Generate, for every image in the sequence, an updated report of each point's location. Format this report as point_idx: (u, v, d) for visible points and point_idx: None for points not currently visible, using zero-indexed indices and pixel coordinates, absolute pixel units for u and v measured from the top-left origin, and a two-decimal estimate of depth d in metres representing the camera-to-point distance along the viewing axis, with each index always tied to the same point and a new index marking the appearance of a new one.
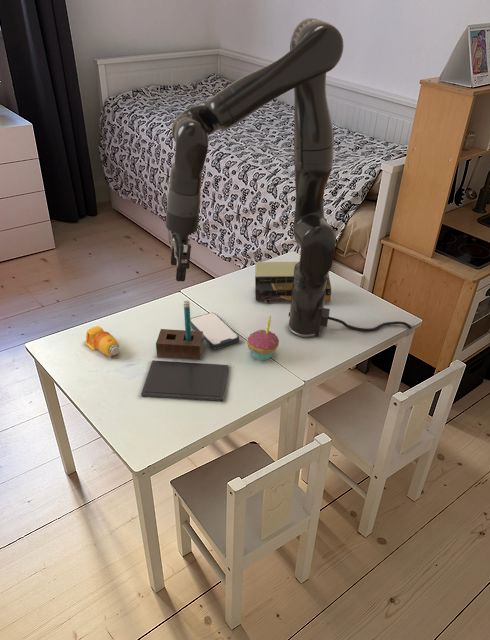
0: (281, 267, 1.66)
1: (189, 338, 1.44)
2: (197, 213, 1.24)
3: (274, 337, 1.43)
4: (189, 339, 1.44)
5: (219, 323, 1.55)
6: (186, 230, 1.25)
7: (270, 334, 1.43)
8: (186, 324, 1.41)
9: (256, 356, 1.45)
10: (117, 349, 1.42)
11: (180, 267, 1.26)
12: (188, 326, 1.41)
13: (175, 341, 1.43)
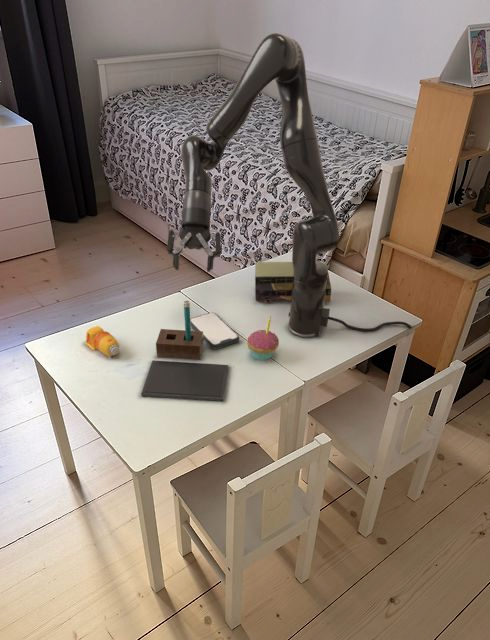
0: (281, 267, 1.66)
1: (189, 338, 1.44)
2: None
3: (274, 337, 1.43)
4: (189, 339, 1.44)
5: (219, 323, 1.55)
6: (209, 225, 1.45)
7: (270, 334, 1.43)
8: (186, 324, 1.41)
9: (256, 356, 1.45)
10: (117, 349, 1.42)
11: (219, 252, 1.43)
12: (188, 326, 1.41)
13: (175, 341, 1.43)
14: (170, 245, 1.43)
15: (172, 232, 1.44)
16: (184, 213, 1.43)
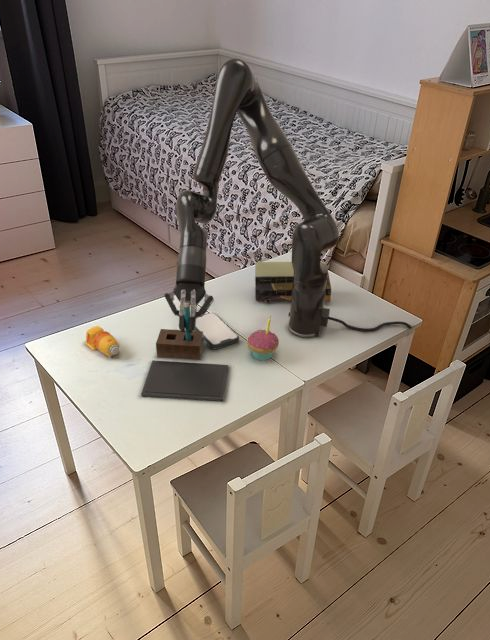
0: (281, 267, 1.66)
1: (189, 338, 1.44)
2: None
3: (274, 337, 1.43)
4: (189, 339, 1.44)
5: (219, 323, 1.55)
6: (204, 281, 1.42)
7: (270, 334, 1.43)
8: (186, 324, 1.41)
9: (256, 356, 1.45)
10: (117, 349, 1.42)
11: (202, 313, 1.40)
12: (188, 326, 1.41)
13: (175, 341, 1.43)
14: (174, 307, 1.40)
15: (167, 295, 1.40)
16: (178, 269, 1.40)
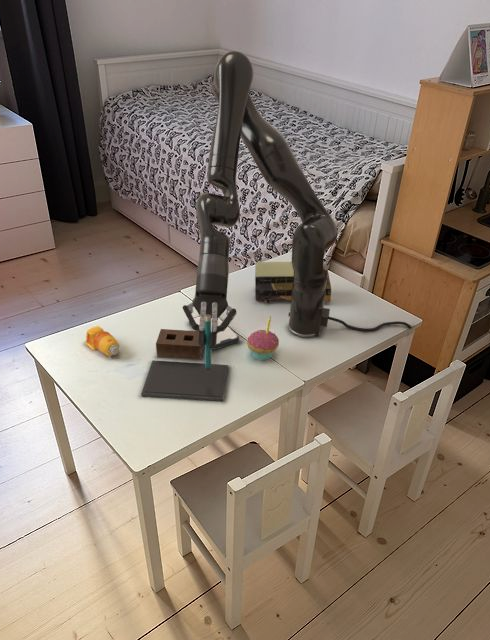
0: (281, 267, 1.66)
1: (209, 354, 1.31)
2: None
3: (274, 337, 1.43)
4: (209, 355, 1.31)
5: (219, 323, 1.55)
6: None
7: (270, 334, 1.43)
8: (206, 339, 1.28)
9: (256, 356, 1.45)
10: (117, 349, 1.42)
11: (224, 328, 1.27)
12: (208, 341, 1.28)
13: (175, 341, 1.43)
14: (193, 320, 1.27)
15: (186, 307, 1.27)
16: (199, 279, 1.27)
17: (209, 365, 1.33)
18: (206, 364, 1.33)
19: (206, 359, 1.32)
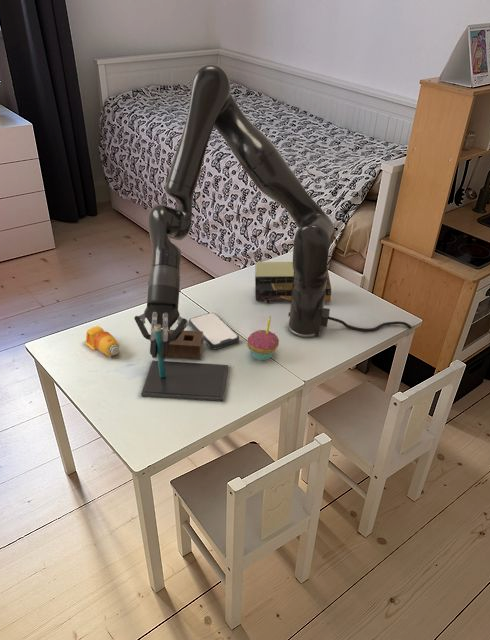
0: (281, 267, 1.66)
1: (162, 363, 1.33)
2: None
3: (274, 337, 1.43)
4: (162, 364, 1.33)
5: (219, 323, 1.55)
6: (178, 302, 1.32)
7: (270, 334, 1.43)
8: (158, 349, 1.30)
9: (256, 356, 1.45)
10: (117, 349, 1.42)
11: (175, 337, 1.30)
12: (160, 351, 1.31)
13: (175, 341, 1.43)
14: (144, 331, 1.30)
15: (138, 317, 1.30)
16: (149, 290, 1.29)
17: (163, 374, 1.35)
18: (160, 373, 1.35)
19: (159, 368, 1.34)
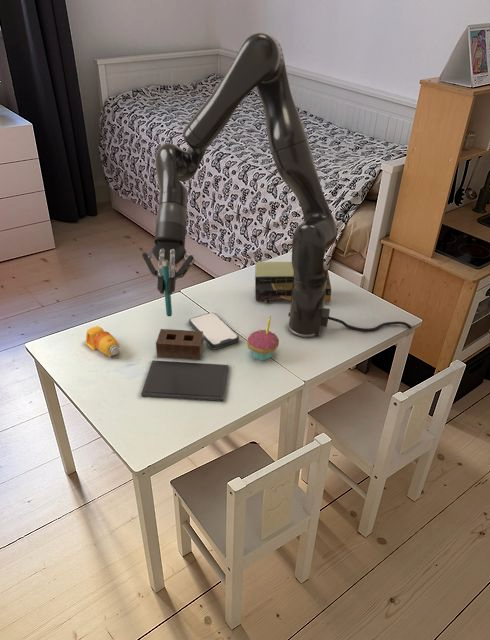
0: (281, 267, 1.66)
1: (168, 300, 1.36)
2: None
3: (274, 337, 1.43)
4: (168, 301, 1.37)
5: (219, 323, 1.55)
6: None
7: (270, 334, 1.43)
8: (165, 285, 1.34)
9: (256, 356, 1.45)
10: (117, 349, 1.42)
11: (181, 273, 1.33)
12: (167, 287, 1.34)
13: (175, 341, 1.43)
14: (152, 267, 1.33)
15: (145, 254, 1.33)
16: (157, 227, 1.32)
17: (169, 312, 1.39)
18: (167, 310, 1.38)
19: (166, 305, 1.37)
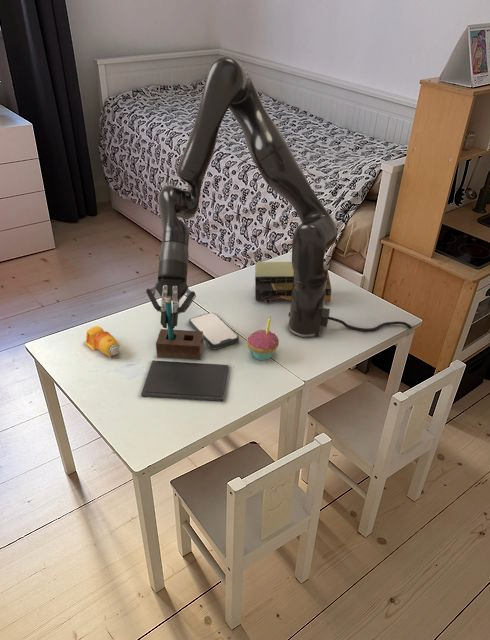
0: (281, 267, 1.66)
1: (171, 334, 1.43)
2: None
3: (274, 337, 1.43)
4: (171, 335, 1.43)
5: (219, 323, 1.55)
6: None
7: (270, 334, 1.43)
8: (168, 319, 1.40)
9: (256, 356, 1.45)
10: (117, 349, 1.42)
11: (184, 309, 1.39)
12: (170, 321, 1.40)
13: (175, 341, 1.43)
14: (155, 302, 1.39)
15: (149, 290, 1.40)
16: (160, 265, 1.39)
17: None
18: None
19: (169, 338, 1.44)
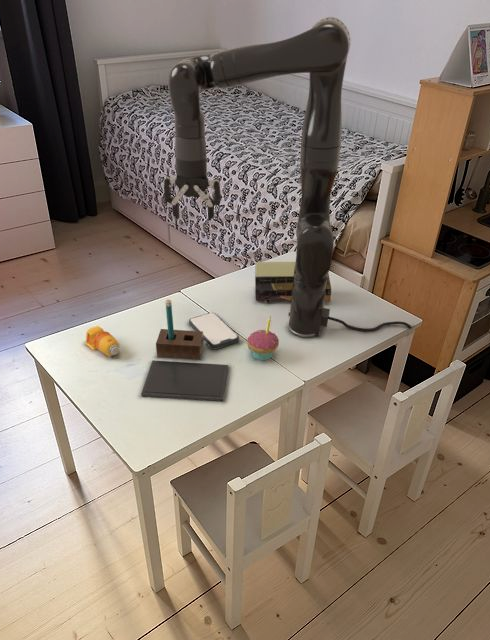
0: (281, 267, 1.66)
1: (172, 337, 1.44)
2: None
3: (274, 337, 1.43)
4: (172, 338, 1.44)
5: (219, 323, 1.55)
6: (206, 169, 1.34)
7: (270, 334, 1.43)
8: (168, 323, 1.41)
9: (256, 356, 1.45)
10: (117, 349, 1.42)
11: (219, 202, 1.38)
12: (170, 325, 1.41)
13: (175, 341, 1.43)
14: (167, 196, 1.37)
15: (167, 182, 1.35)
16: (178, 164, 1.30)
17: None
18: None
19: None
